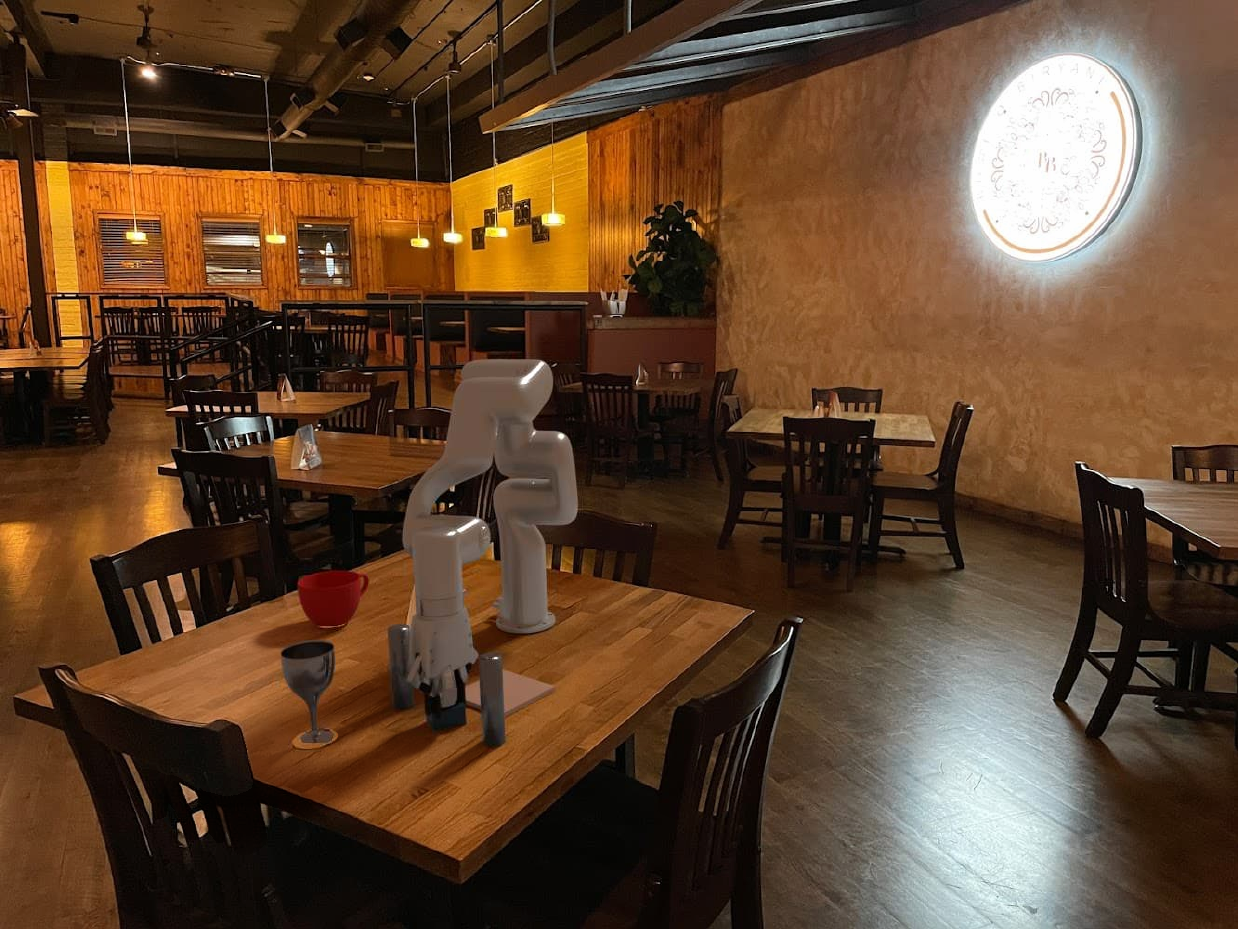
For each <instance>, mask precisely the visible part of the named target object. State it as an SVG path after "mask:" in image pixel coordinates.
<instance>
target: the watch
mask: <svg viewBox="0 0 1238 929" xmlns="http://www.w3.org/2000/svg"><path fill="white" fill-rule="evenodd" d="M430 683H431V680H430V679H429V686H430ZM437 694H439V695H440V700H441V717H440V718H439V719H436V713H435V712H434V713H432V714H430V716H429V715H427V714H426V713H425V721H426V723H427V724H428V726H429V727H430V728H431V730H432V733H433V732H435V733H436V732H438V731H442V730H446V729H450V728H453V727H457V726H462V725H466V724H467V711H466V705H464V703H463V702H462V701H460V700H457V698H456V697H457V689H456V682H455V676H454V671H453V666H452V665H451V666H450V667H448V668H447V669H445V670H444V671H443V672H442V673H441V676H440V677H439V682H438V689H437Z"/></svg>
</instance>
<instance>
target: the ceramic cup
mask: <svg viewBox="0 0 1238 929" xmlns="http://www.w3.org/2000/svg"><path fill="white" fill-rule="evenodd" d="M361 578H363V584H362V583H361ZM369 582H370V578H369V576H368V575H367V574H365V573H363V572H362V573H357V572H354V571H352V570H351V571H350V570H328V571H323V572H322V571H321V572H317V573H313V574H309V575H307V576H303V577H302V578H301V579H298V581H297V593H298V598H299V602H300V606H301V608H302V610H303V613H304V615H305V616H306V617H307V618H308V619H309V621H310V622H311V623H312V624H314V625H315V626H316V625H317V626H338V625H342V624H345V623H347V622H348V621H350V620H351V619H352V618H353V617H354V615H355V613H356V612H357V610H358V607H359V604H360V601H361V600H360V599H361V597H362V596H363V595H364V594H365V593H366V591H367V589H368V588H369ZM361 584H362V586H361ZM348 623H349V622H348ZM348 623H347V624H348ZM317 626H316V627H317Z"/></svg>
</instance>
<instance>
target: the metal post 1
mask: <svg viewBox="0 0 1238 929" xmlns="http://www.w3.org/2000/svg"><path fill="white" fill-rule="evenodd" d="M410 628H411V627H410V625H408V624H405V623H397V624H393V625H390V626H388V628H387V640H388V641H387V642H388V653H389V654H388V658H389V670H390V671H389V672H390V686H391V699H392V708H393V709H395V711H397V710H398V711H403V710H405V711H406V710H409V709H411V708H413V707H414V706H415V692H414V687H413V686H410V685H408V684H406V680H407V678H408V676H409V673H410V665H409V639H410Z"/></svg>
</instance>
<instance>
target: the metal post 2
mask: <svg viewBox="0 0 1238 929" xmlns="http://www.w3.org/2000/svg"><path fill="white" fill-rule="evenodd" d="M503 668H504V667H503V655H502V654H501V653H499V652H485V653H482V654H480V655H478V673H479V674H478V676H479V678H478V679H479V680H480V698H481V710H480V715H481V732H482V733H481V738H482V744H483V746H485V747H488V748H495V747H496V748H497V747H501V746H503V745H504V744H505V743H506V742H507V740H506V739H507V738H506V737H507V736H506V735H507V734H506V717H505V711H504V688H503ZM502 744H503V745H502Z"/></svg>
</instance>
